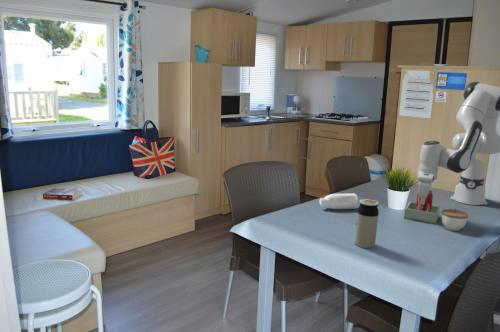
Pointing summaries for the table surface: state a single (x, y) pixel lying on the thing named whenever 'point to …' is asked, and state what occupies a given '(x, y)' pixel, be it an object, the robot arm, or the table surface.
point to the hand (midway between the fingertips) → (423, 202)
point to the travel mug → (366, 223)
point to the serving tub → (421, 213)
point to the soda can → (427, 205)
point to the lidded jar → (454, 219)
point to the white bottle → (339, 201)
